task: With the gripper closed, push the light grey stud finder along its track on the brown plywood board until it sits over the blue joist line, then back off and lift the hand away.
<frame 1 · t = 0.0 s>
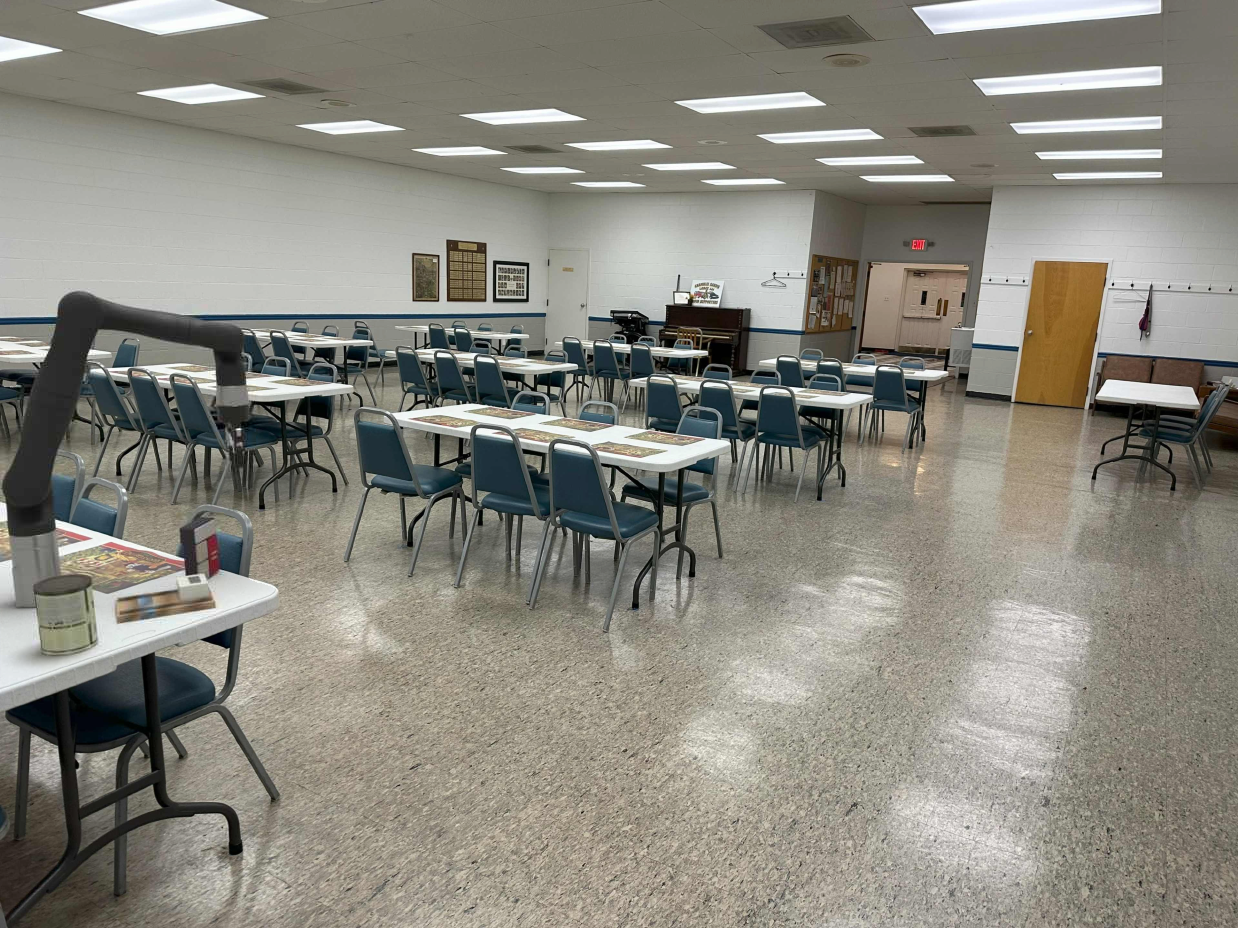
hand: (236, 464, 219), 29 cm above the table, tool pointing down, fingers open, 8 cm apart
coffee can: (70, 646, 177), on the table
stud finder: (192, 587, 202), point 4 cm above the table, slide at 0.0 cm
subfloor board: (165, 606, 199), on the table
black red grey box: (203, 578, 219), on the table
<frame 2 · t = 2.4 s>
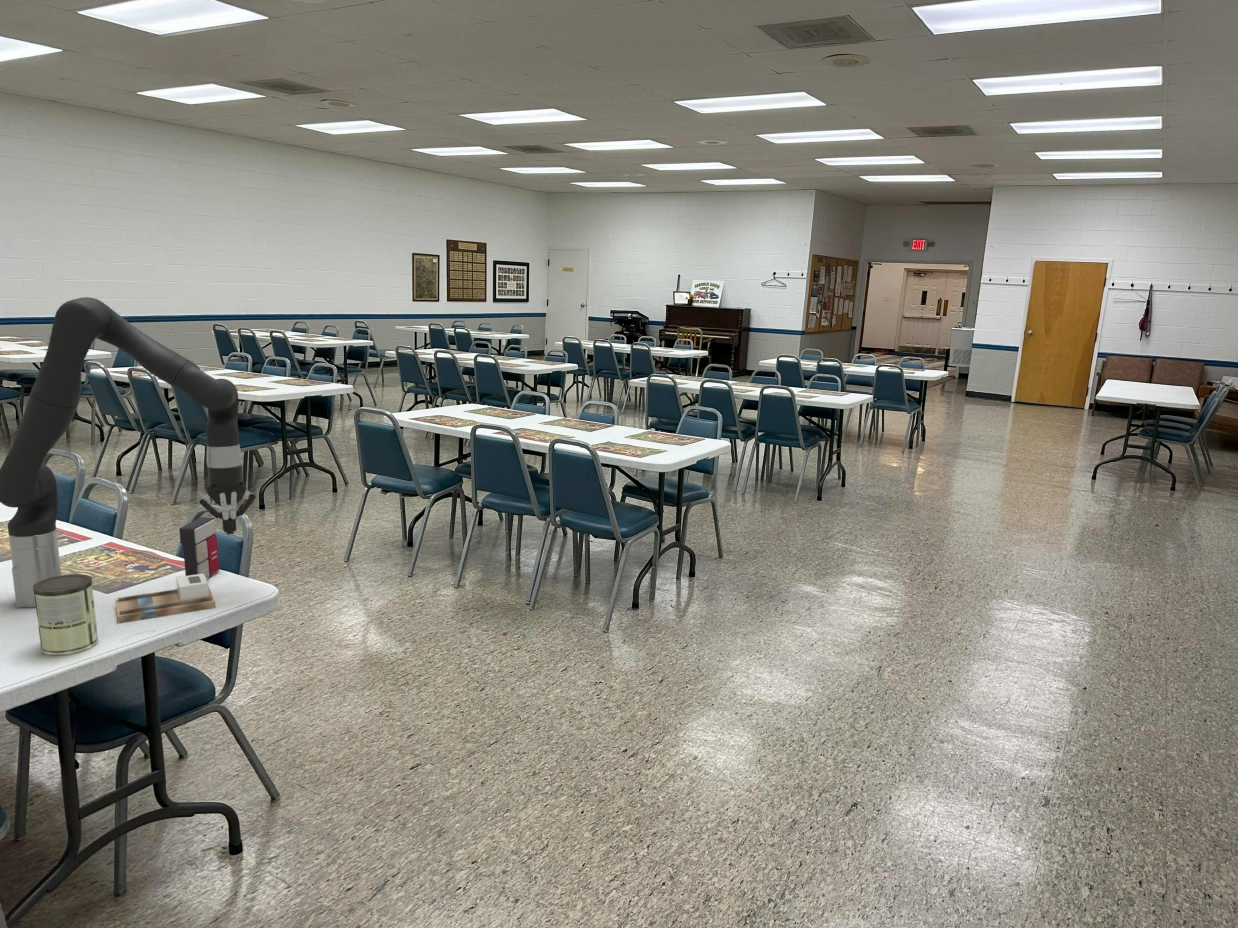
hand: (230, 533, 204), 16 cm above the table, tool pointing down, fingers closed
nothing on the table moved.
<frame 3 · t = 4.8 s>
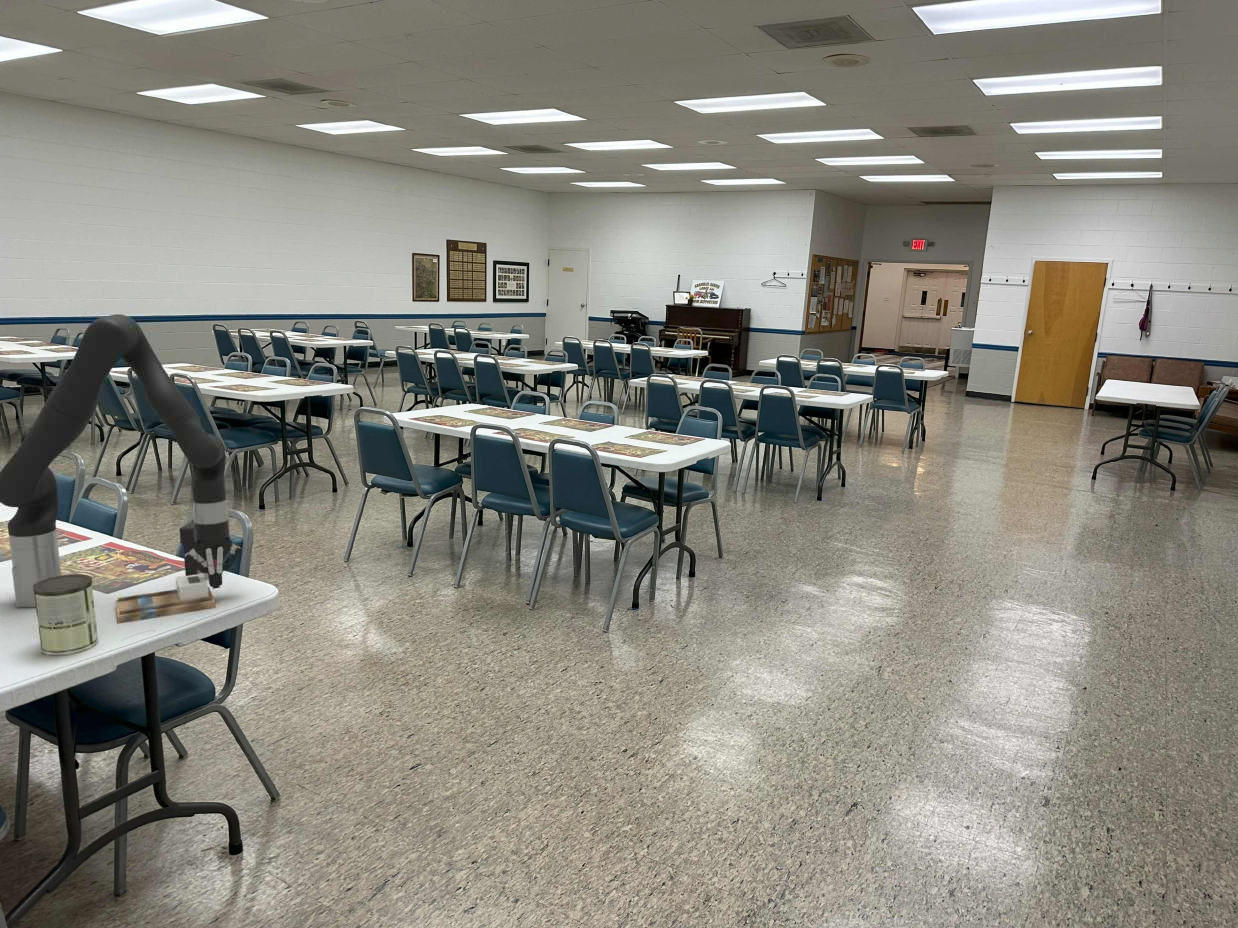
hand: (216, 587, 205), 3 cm above the table, tool pointing down, fingers closed
stud finder: (192, 588, 202), point 4 cm above the table, slide at 0.1 cm, touching gripper
everything else where it was.
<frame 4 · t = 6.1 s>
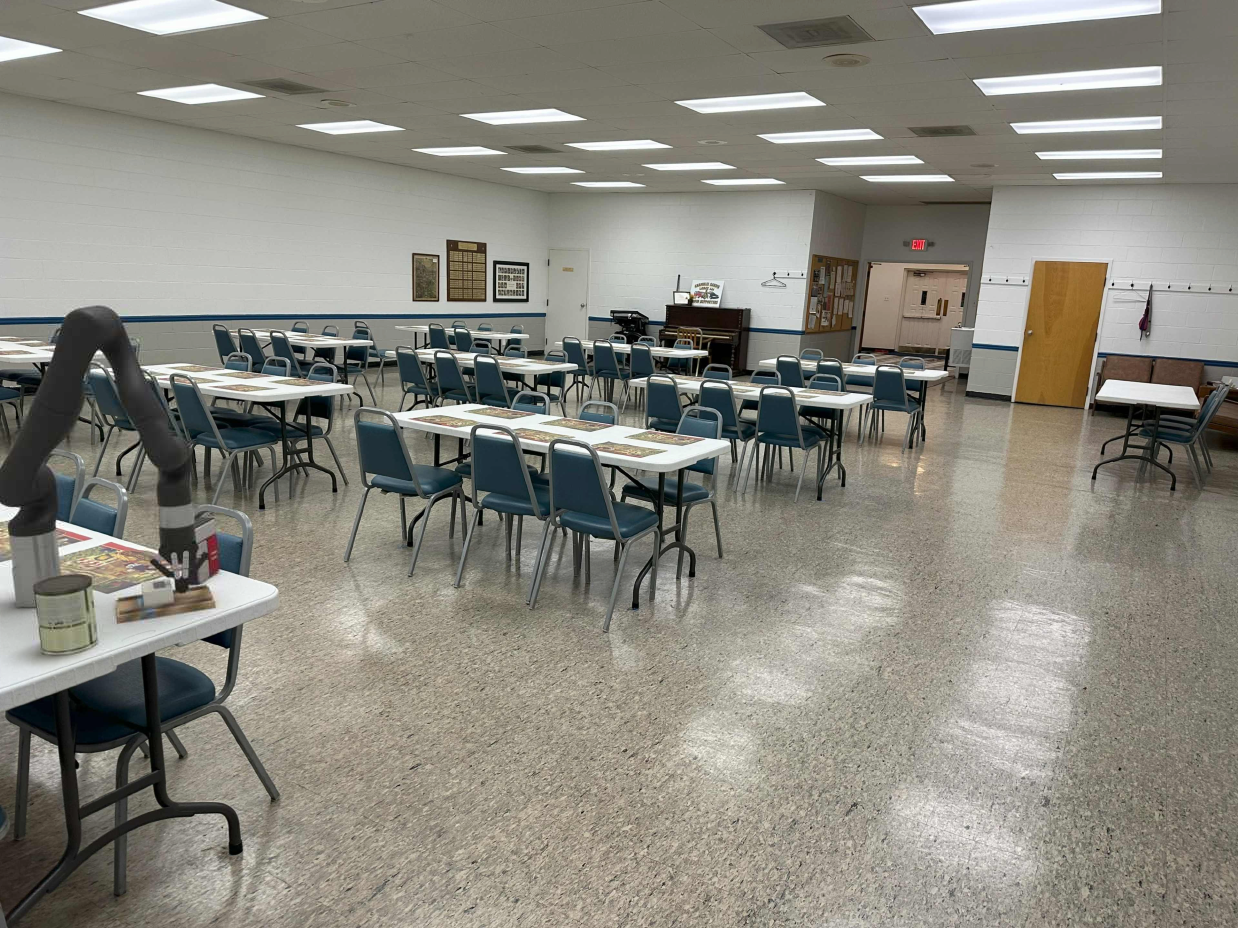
hand: (182, 592, 201), 3 cm above the table, tool pointing down, fingers closed
stud finder: (157, 593, 198), point 4 cm above the table, slide at 7.5 cm, touching gripper
everything else where it was.
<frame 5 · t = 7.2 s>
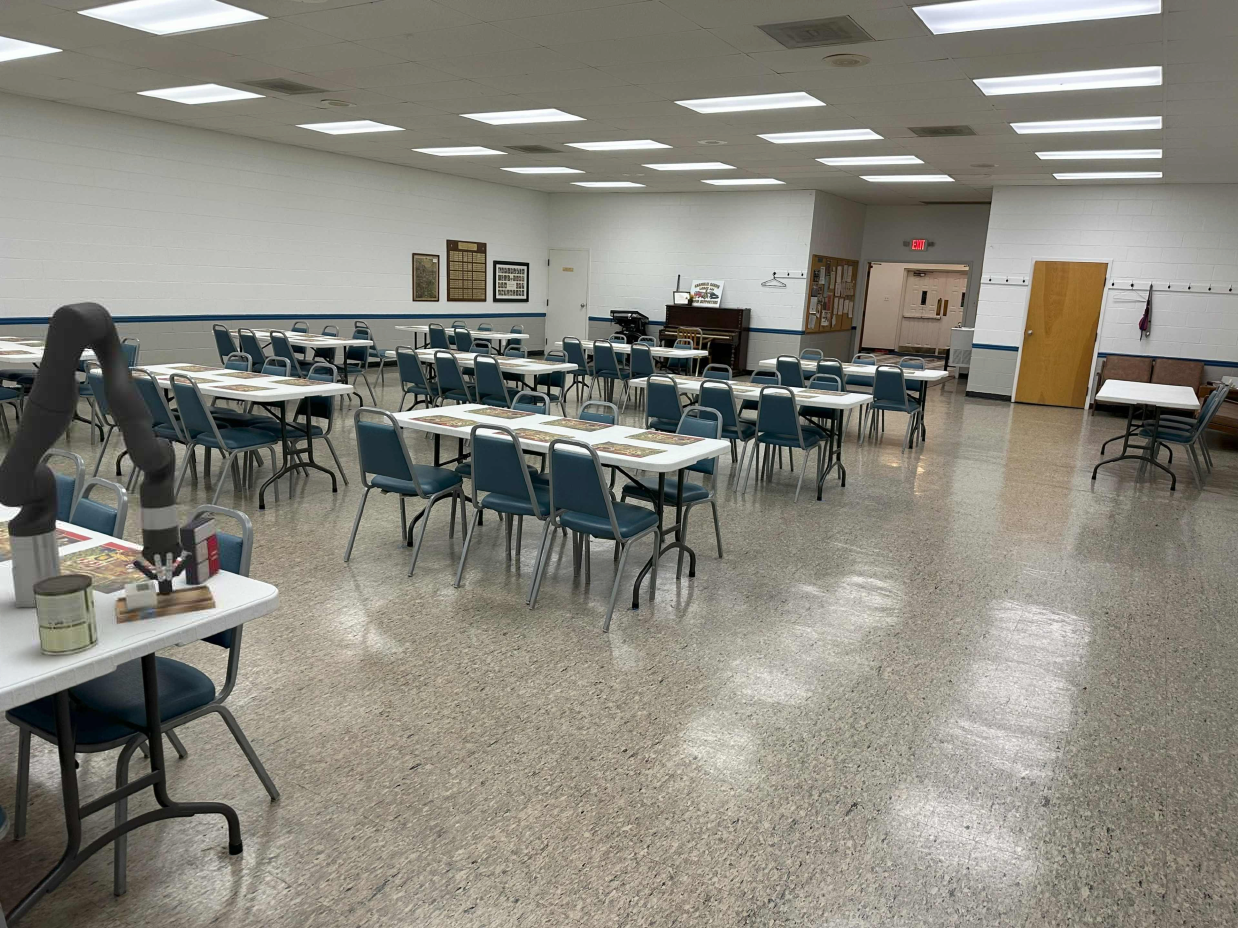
hand: (166, 594, 199), 3 cm above the table, tool pointing down, fingers closed
stud finder: (140, 595, 196), point 4 cm above the table, slide at 10.9 cm, touching gripper
everything else where it was.
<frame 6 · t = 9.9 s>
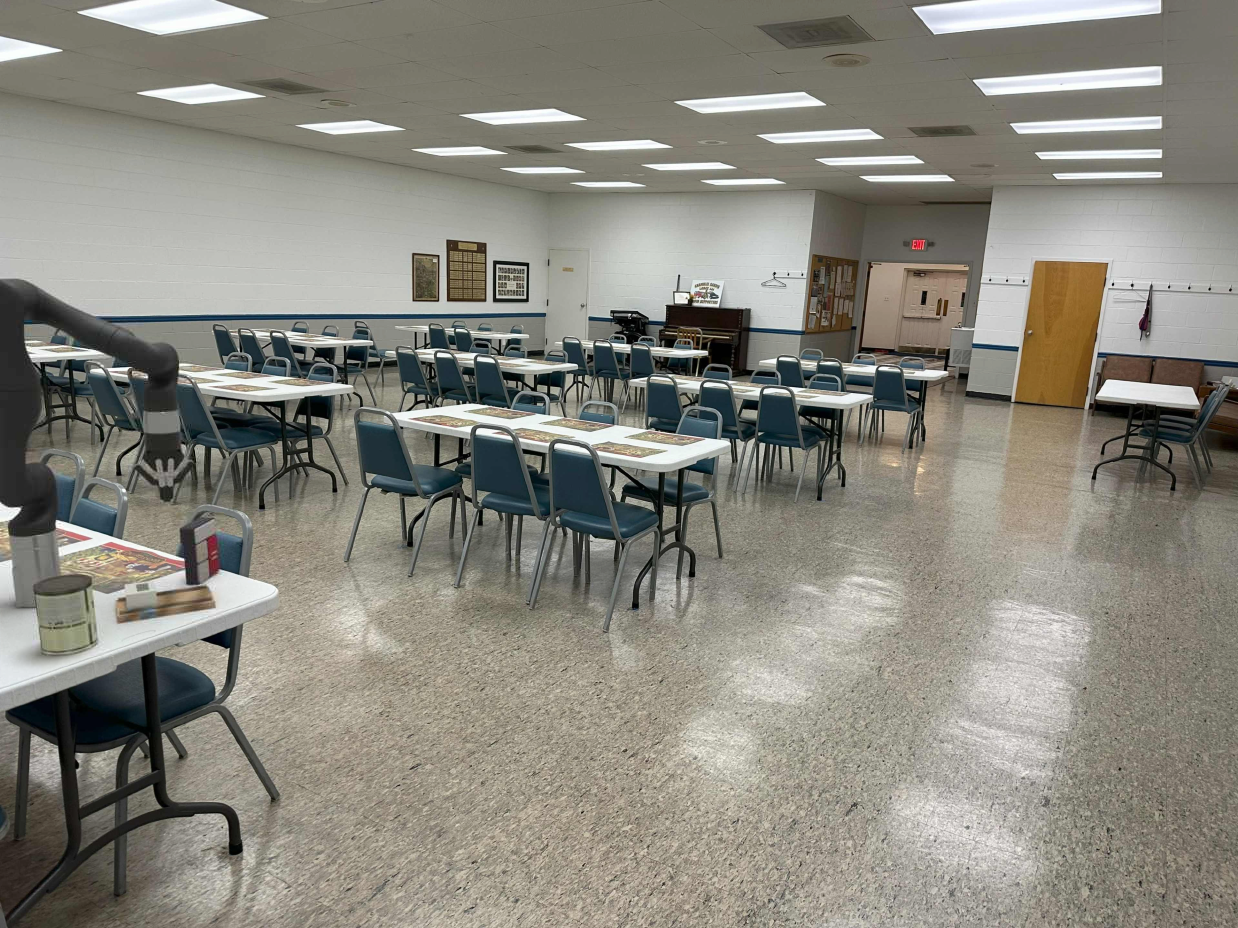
hand: (167, 501, 200), 24 cm above the table, tool pointing down, fingers closed
stud finder: (140, 595, 196), point 4 cm above the table, slide at 10.9 cm
everything else where it was.
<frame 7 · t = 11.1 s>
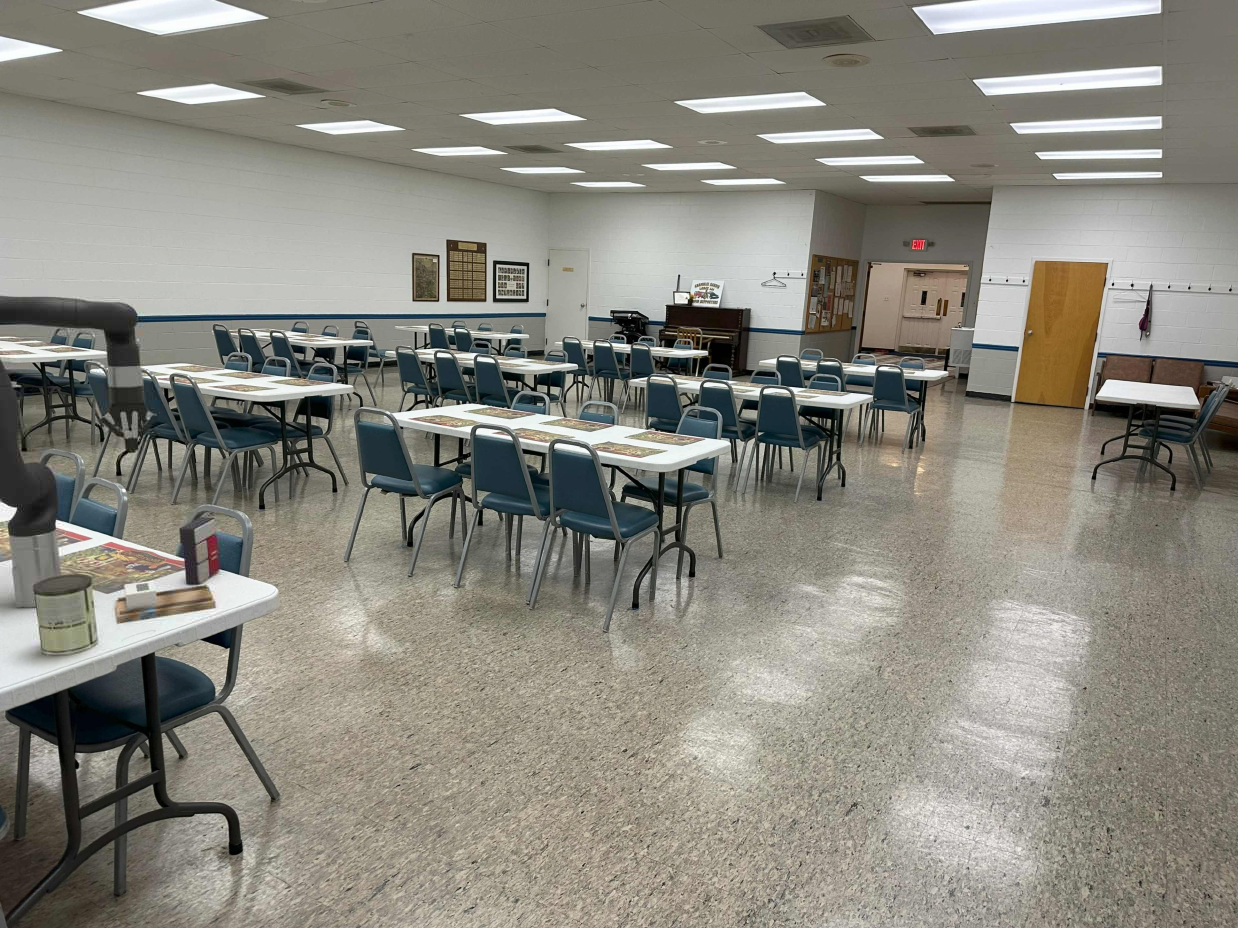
hand: (132, 452, 213), 33 cm above the table, tool pointing down, fingers closed
nothing on the table moved.
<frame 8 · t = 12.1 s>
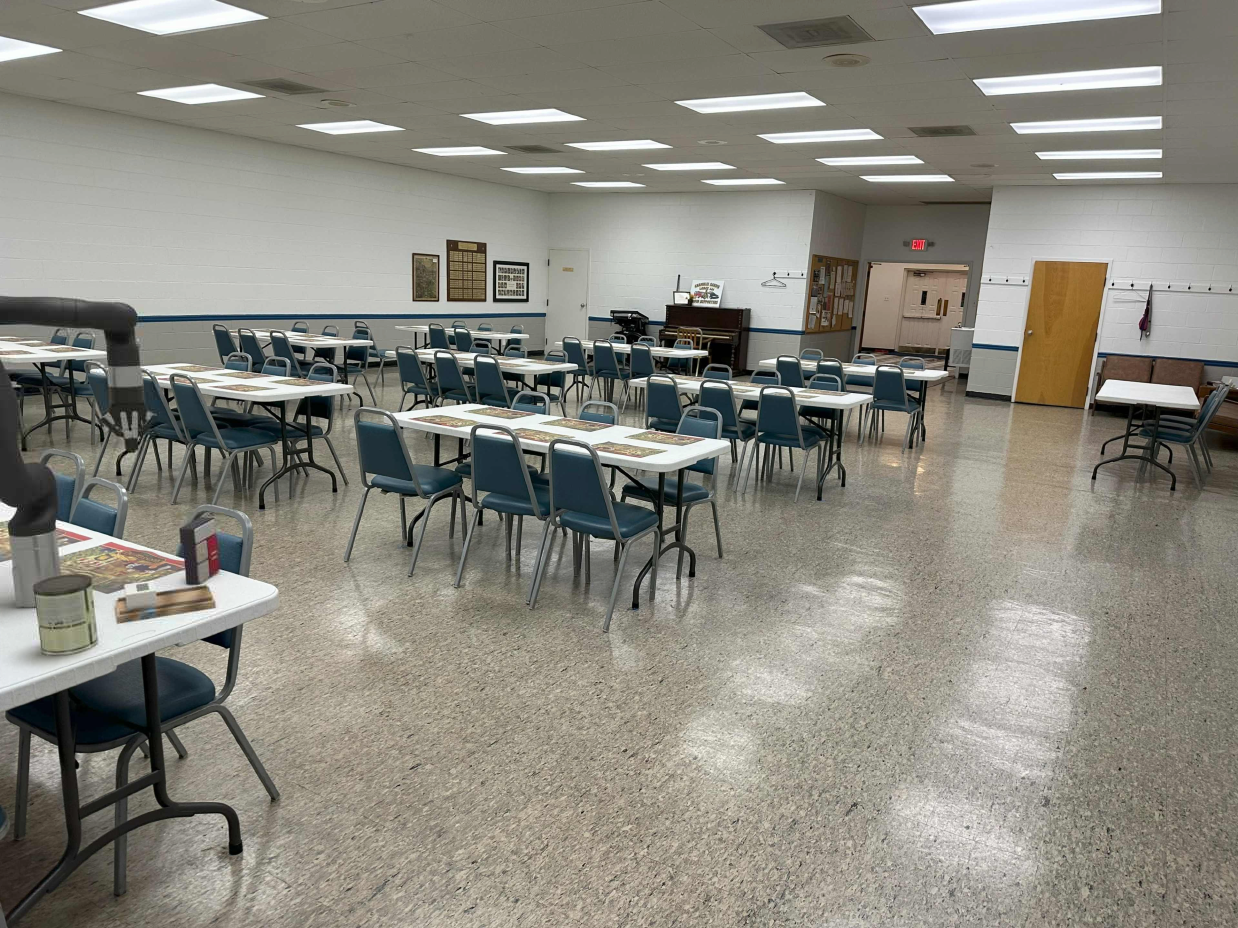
hand: (132, 452, 213), 33 cm above the table, tool pointing down, fingers closed
nothing on the table moved.
at the end: stud finder slide at 10.9 cm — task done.
